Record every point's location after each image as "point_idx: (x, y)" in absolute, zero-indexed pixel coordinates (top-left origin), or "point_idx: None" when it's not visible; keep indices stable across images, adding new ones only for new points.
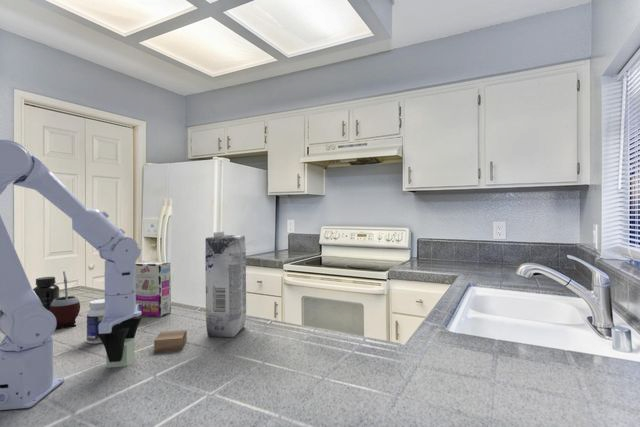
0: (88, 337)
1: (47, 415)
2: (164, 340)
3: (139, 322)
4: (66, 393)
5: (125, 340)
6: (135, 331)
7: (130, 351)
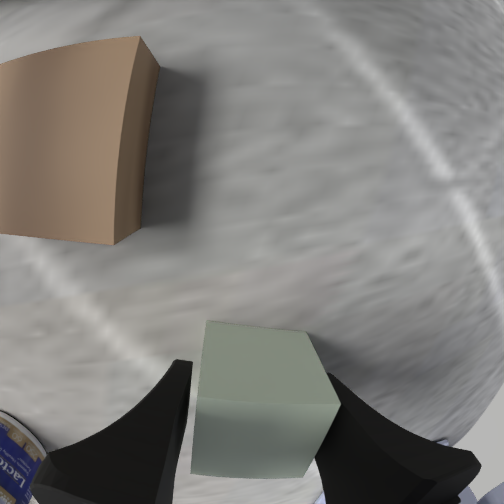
0: None
1: (489, 393)
2: (121, 163)
3: (86, 452)
4: (424, 418)
5: (238, 433)
6: (144, 422)
7: (268, 361)
